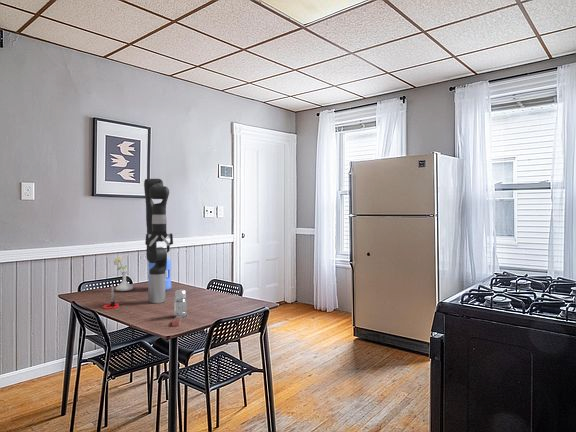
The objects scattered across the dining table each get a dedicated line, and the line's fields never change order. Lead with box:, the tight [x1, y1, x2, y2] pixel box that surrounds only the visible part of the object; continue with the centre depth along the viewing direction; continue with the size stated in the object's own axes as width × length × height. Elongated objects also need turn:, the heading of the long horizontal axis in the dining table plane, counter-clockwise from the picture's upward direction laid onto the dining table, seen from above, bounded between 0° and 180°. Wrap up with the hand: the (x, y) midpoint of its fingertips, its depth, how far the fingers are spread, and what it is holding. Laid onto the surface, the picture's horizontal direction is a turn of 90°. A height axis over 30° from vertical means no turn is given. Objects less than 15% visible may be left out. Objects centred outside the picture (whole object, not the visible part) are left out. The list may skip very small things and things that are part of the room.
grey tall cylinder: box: [173, 289, 188, 313], centre depth 221 cm, size 6×6×11 cm
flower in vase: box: [113, 254, 134, 292], centre depth 288 cm, size 13×11×25 cm
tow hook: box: [102, 283, 120, 310], centre depth 240 cm, size 8×13×9 cm
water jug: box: [147, 257, 172, 291], centre depth 294 cm, size 16×16×28 cm
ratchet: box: [171, 311, 188, 327], centre depth 214 cm, size 22×6×7 cm, turn 7°
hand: (159, 252), depth 226 cm, fingers open, 8 cm apart
